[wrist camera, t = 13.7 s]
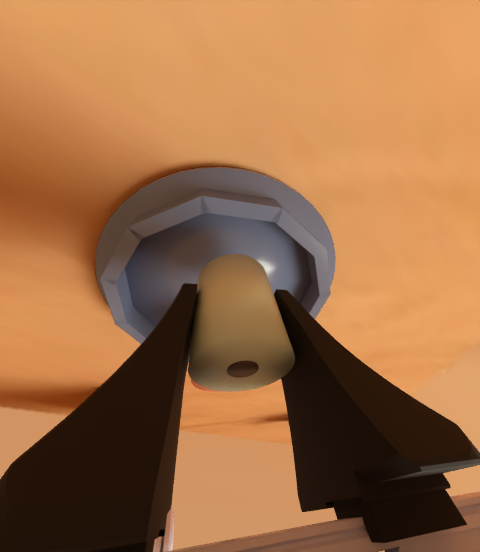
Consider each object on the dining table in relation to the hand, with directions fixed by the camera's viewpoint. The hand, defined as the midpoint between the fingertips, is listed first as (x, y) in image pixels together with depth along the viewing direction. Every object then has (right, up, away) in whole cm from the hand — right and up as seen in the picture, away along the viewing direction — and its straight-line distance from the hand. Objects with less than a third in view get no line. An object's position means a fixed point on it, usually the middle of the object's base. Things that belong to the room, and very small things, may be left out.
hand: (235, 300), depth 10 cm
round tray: (-1, 0, +6) cm, 6 cm away
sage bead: (0, +1, +1) cm, 1 cm away
